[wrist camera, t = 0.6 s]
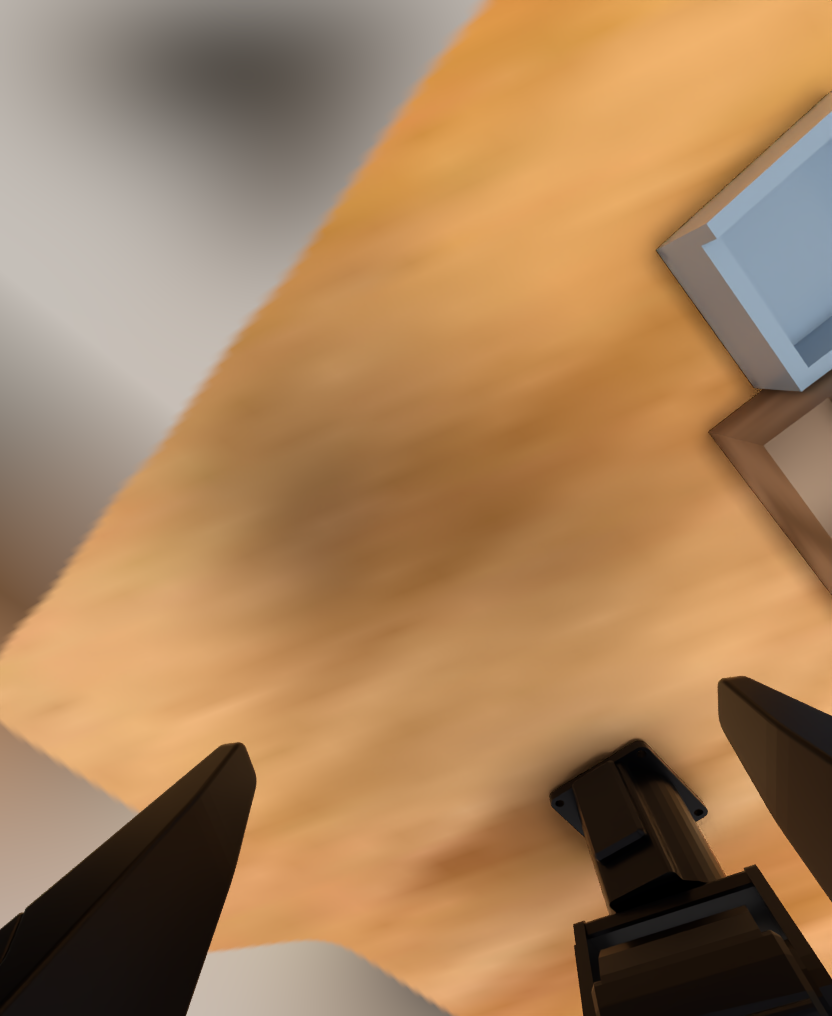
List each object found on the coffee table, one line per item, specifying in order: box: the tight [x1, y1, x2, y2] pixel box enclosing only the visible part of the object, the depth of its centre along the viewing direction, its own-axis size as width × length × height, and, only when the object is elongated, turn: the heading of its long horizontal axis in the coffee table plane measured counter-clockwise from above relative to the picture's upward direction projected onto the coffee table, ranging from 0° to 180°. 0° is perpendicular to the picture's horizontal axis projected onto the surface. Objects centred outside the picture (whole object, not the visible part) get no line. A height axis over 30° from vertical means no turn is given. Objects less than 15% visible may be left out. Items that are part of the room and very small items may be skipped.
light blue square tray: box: [656, 91, 832, 392], centre depth 16 cm, size 7×7×4 cm
